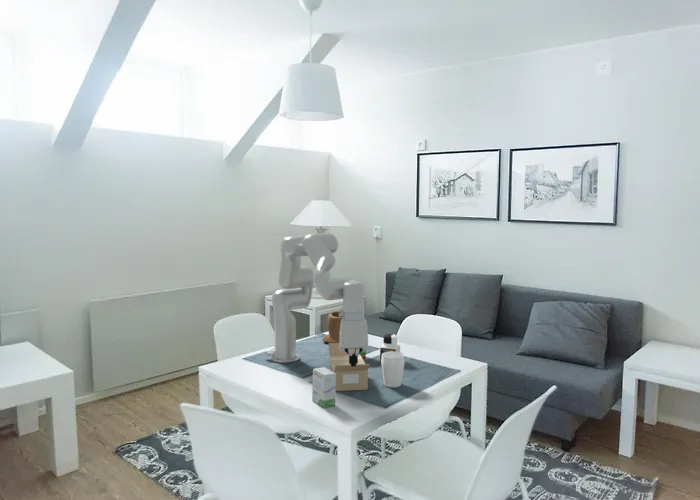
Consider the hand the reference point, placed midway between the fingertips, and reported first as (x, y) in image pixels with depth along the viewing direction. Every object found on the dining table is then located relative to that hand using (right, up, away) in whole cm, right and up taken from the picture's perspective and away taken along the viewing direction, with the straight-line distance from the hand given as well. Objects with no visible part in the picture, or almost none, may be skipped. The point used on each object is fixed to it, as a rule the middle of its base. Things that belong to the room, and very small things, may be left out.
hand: (353, 365), depth 195 cm
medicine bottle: (+17, -8, +44) cm, 47 cm away
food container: (+4, -7, +48) cm, 49 cm away
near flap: (-1, -2, +5) cm, 5 cm away
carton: (-2, -10, +17) cm, 20 cm away
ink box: (-10, -13, -4) cm, 17 cm away
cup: (+15, -11, +15) cm, 24 cm away
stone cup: (-8, -4, +77) cm, 77 cm away
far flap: (-4, +1, +27) cm, 28 cm away
